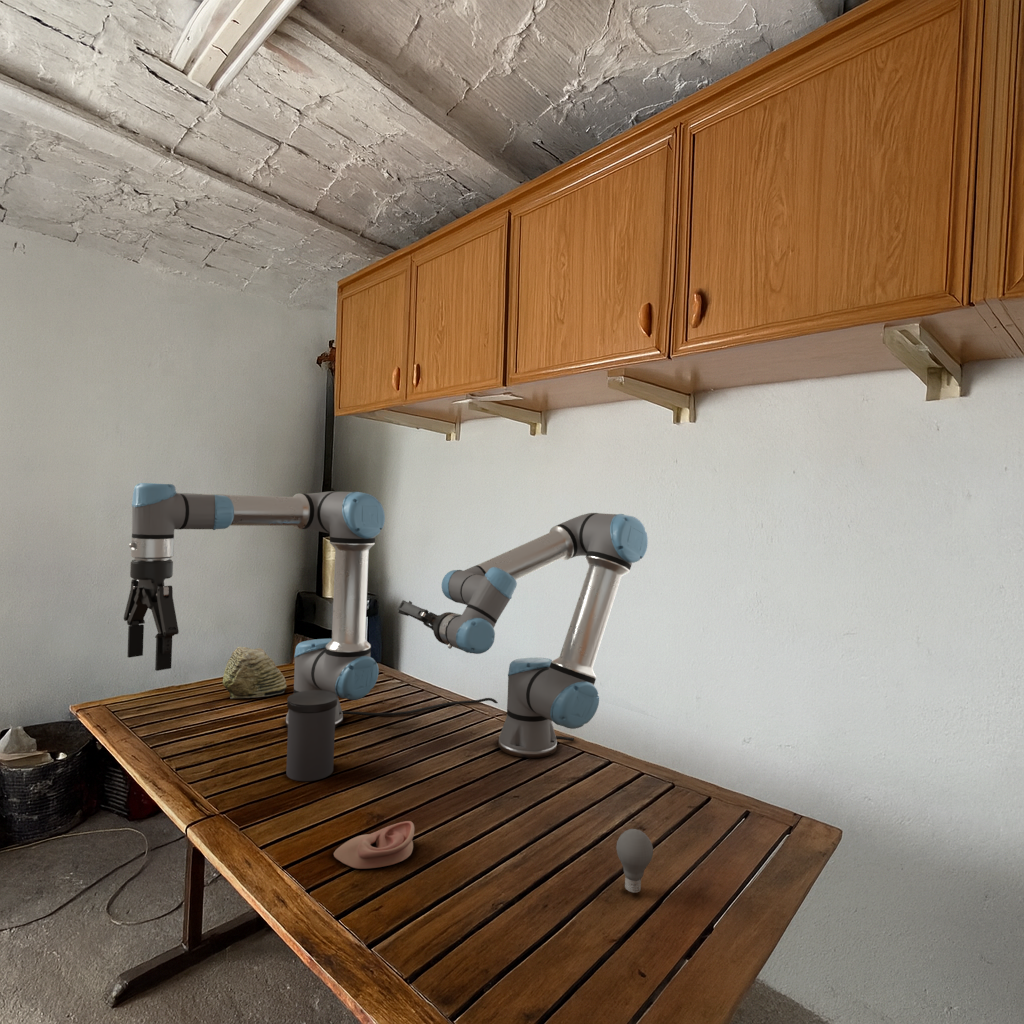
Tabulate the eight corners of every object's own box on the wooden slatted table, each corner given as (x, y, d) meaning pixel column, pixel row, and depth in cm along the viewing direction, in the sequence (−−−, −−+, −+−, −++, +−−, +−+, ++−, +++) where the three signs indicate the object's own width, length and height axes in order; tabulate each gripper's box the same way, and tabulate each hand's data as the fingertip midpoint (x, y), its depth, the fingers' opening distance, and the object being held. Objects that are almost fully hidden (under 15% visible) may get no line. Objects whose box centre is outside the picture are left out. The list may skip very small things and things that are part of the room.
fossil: (218, 695, 195) (220, 647, 195) (278, 685, 208) (279, 640, 207) (228, 703, 189) (230, 653, 188) (289, 692, 201) (290, 645, 201)
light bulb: (610, 879, 108) (613, 822, 108) (644, 879, 109) (647, 822, 109) (619, 902, 102) (622, 840, 102) (655, 901, 103) (658, 840, 103)
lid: (278, 703, 145) (278, 696, 145) (321, 694, 153) (321, 687, 153) (303, 716, 138) (303, 708, 138) (346, 705, 146) (347, 698, 146)
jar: (277, 770, 145) (280, 698, 145) (318, 758, 153) (320, 689, 153) (301, 785, 138) (303, 709, 138) (342, 772, 146) (344, 700, 146)
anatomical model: (325, 840, 109) (355, 809, 121) (324, 863, 109) (354, 830, 121) (398, 852, 107) (421, 819, 118) (397, 876, 107) (420, 840, 118)
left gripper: (108, 554, 134) (104, 654, 134) (159, 565, 118) (155, 678, 119) (146, 552, 140) (143, 648, 140) (199, 563, 124) (195, 671, 124)
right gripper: (400, 618, 142) (375, 610, 160) (487, 668, 151) (454, 655, 169) (417, 589, 144) (391, 584, 163) (502, 640, 153) (467, 630, 172)
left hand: (148, 662), depth 129 cm, fingers open, 13 cm apart
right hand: (423, 621), depth 166 cm, fingers open, 13 cm apart
